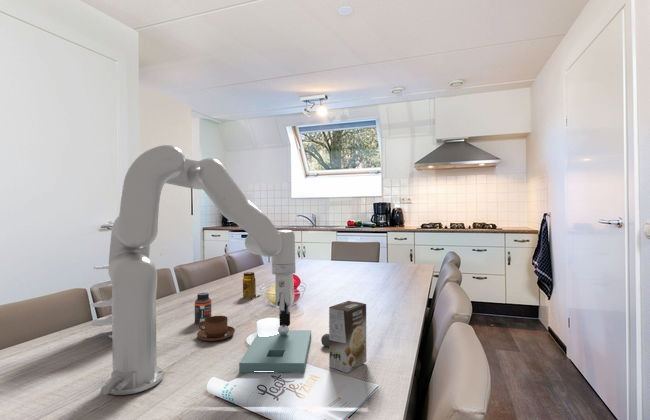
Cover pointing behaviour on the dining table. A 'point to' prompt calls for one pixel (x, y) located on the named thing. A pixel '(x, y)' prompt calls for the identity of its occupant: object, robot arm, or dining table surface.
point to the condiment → (249, 285)
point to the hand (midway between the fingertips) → (284, 325)
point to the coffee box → (347, 336)
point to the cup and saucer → (215, 329)
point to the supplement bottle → (202, 307)
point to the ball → (283, 330)
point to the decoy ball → (325, 340)
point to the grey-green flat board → (277, 353)
